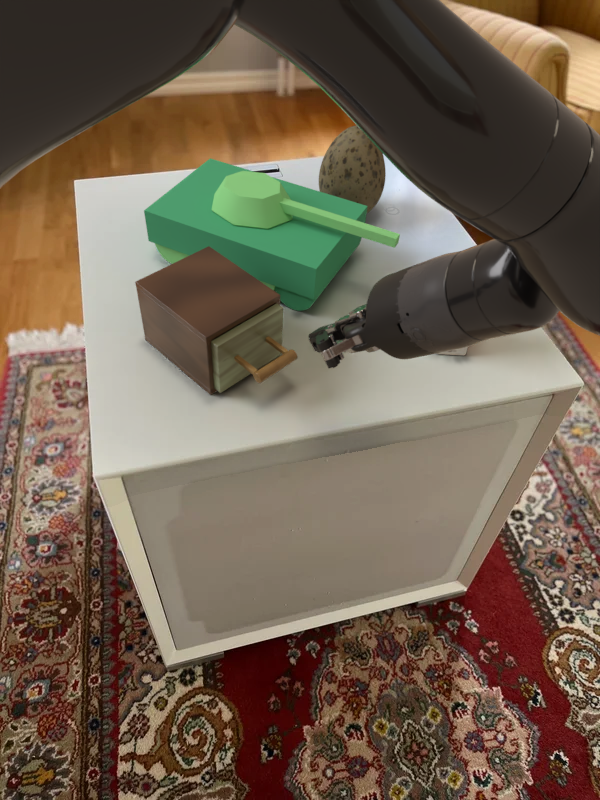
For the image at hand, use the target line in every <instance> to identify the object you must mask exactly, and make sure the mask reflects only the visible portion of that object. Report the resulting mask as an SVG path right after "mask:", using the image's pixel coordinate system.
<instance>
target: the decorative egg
mask: <svg viewBox="0 0 600 800" xmlns="http://www.w3.org/2000/svg"><path fill="white" fill-rule="evenodd" d="M386 177H387V176H386V162H385V158H384V154H383V153H382V152H381V151H380V150H379V149H378V148H377V147H376V146H375V145H374V144H373V142H372V141H371V140H370V139H369V138H368V137H367V136H366V135H365V134H364V133H363V132H362V131H361V130H360V128H359V127H358V126H357V125H356V124H355V125H352V126H349V127H347V128H346V129H344V130H342V131H341V132H340V133H339V134H338V135H337V136H336V137H335V138H334V139H333V140H332V142H331V143H330V145H329V146H328V148H327V149H326V152H325V154H324V156H323V158H322V161H321V164H320V167H319V172H318V189H319V190H318V191H320V192H323V193H326V194H329V195H333V196H336V197H339V198H343V199H346V200H349V201H352V202H356V203H359V204H362V205H366V206H368V207H367V214H368V213H370V212H371V211H372V210H373V209H374V208H375V207H376V205H377V204H378V202H379V201H380V199H381V197H382V195H383V192H384V190H385V189H384V188H385V185H386Z"/></svg>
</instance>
